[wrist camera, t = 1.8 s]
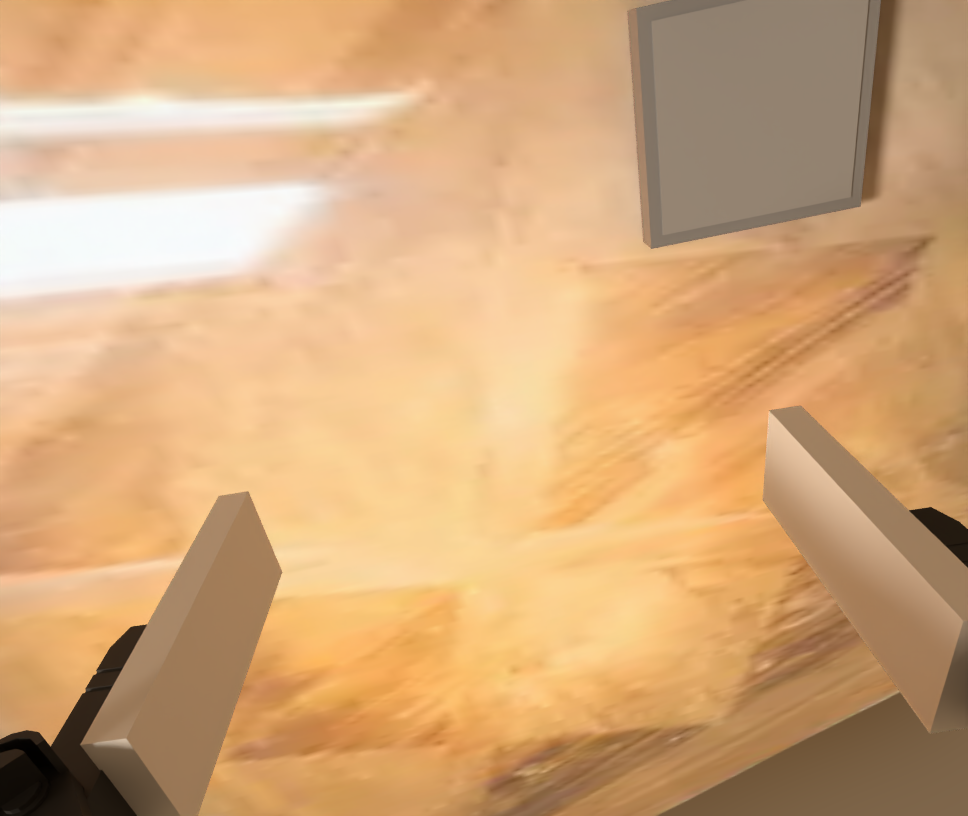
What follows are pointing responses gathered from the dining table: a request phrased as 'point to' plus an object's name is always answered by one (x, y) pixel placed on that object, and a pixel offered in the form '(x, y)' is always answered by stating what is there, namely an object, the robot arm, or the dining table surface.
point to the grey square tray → (749, 111)
